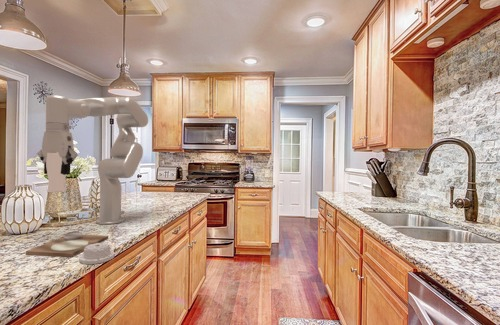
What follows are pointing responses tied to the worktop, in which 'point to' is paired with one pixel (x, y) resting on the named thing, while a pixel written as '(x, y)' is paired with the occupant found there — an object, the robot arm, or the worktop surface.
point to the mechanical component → (96, 253)
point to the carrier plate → (67, 245)
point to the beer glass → (55, 173)
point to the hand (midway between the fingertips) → (57, 173)
